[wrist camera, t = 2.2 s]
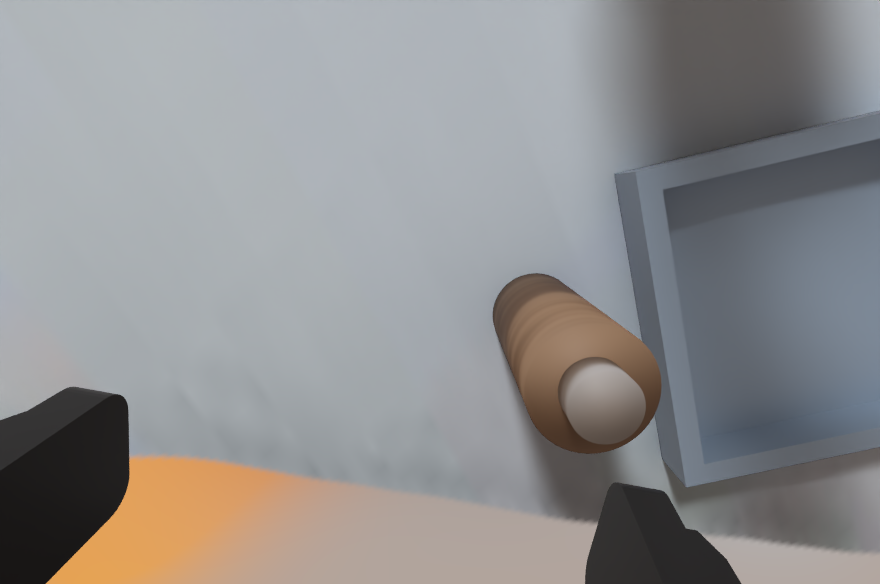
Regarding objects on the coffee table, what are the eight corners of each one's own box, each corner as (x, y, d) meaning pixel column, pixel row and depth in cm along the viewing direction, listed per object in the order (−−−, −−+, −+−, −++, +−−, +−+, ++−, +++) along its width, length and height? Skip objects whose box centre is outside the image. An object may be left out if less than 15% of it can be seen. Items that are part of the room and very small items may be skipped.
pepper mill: (484, 284, 30) (518, 355, 17) (568, 264, 30) (669, 321, 17) (502, 362, 31) (548, 489, 18) (583, 344, 31) (691, 459, 18)
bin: (614, 174, 29) (635, 171, 26) (938, 96, 28) (1000, 84, 25) (662, 458, 32) (686, 487, 29) (953, 397, 31) (1010, 420, 28)
